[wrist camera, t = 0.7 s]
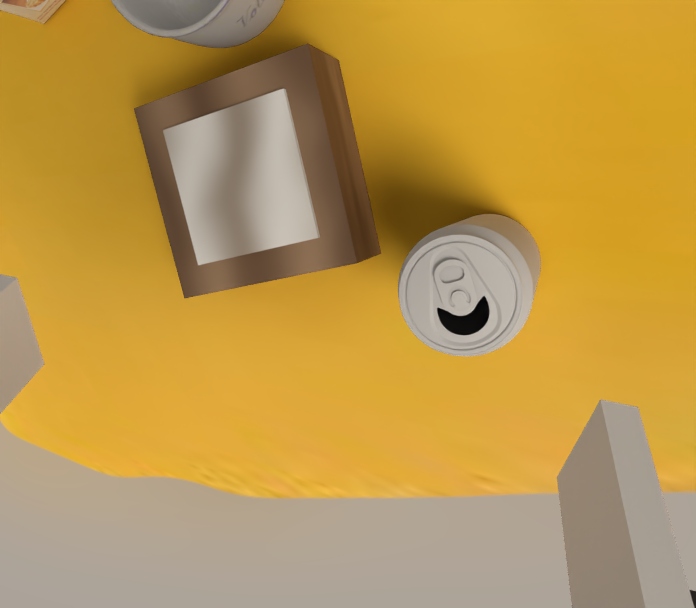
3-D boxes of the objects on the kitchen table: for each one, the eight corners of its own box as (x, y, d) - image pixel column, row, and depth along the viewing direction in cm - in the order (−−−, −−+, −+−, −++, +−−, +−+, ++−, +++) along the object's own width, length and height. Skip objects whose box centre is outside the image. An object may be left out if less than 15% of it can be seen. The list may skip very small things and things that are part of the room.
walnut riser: (338, 60, 38) (305, 42, 33) (381, 253, 39) (355, 263, 34) (176, 117, 43) (127, 109, 38) (220, 286, 44) (178, 299, 39)
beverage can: (455, 321, 38) (413, 377, 27) (428, 229, 38) (373, 249, 27) (553, 297, 36) (549, 349, 25) (525, 198, 35) (509, 207, 24)
